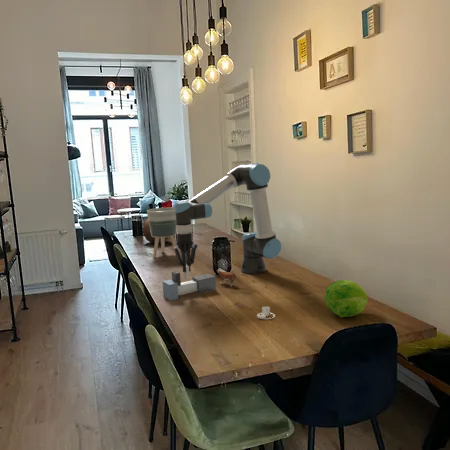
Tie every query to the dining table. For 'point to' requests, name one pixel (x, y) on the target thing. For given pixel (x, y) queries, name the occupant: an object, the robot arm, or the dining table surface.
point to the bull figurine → (226, 276)
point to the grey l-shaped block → (184, 284)
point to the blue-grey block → (170, 289)
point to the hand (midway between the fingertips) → (187, 278)
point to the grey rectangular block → (205, 283)
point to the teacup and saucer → (265, 313)
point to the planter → (162, 226)
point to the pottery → (149, 233)
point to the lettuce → (345, 298)
